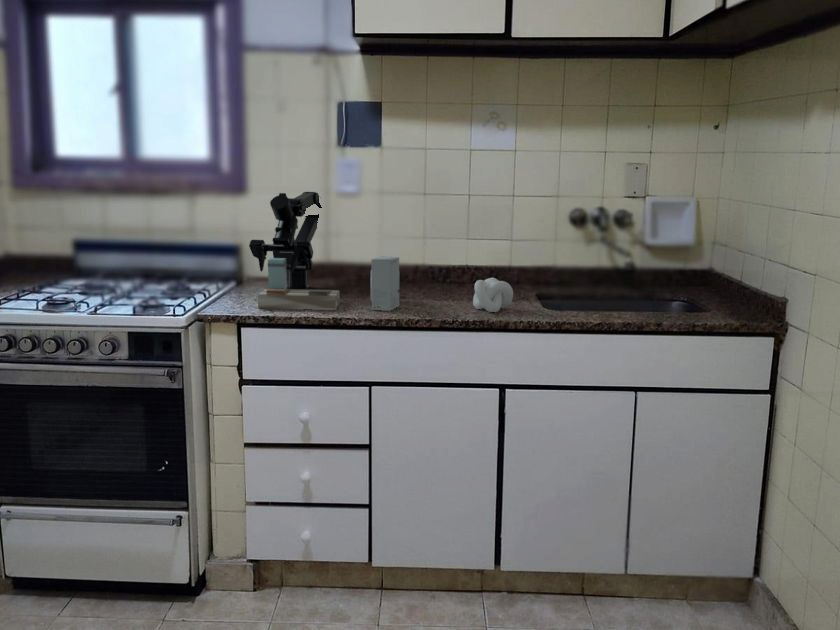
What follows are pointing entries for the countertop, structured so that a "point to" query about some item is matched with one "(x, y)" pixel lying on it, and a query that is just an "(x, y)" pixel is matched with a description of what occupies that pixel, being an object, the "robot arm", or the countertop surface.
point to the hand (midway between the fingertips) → (275, 271)
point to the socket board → (299, 299)
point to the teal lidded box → (277, 273)
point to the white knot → (492, 294)
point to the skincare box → (385, 283)
